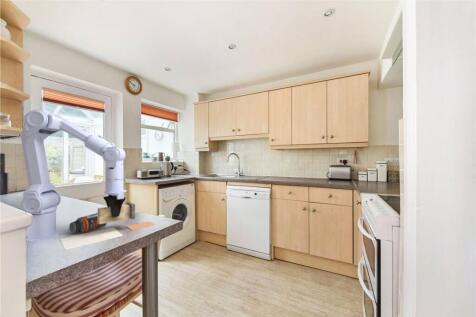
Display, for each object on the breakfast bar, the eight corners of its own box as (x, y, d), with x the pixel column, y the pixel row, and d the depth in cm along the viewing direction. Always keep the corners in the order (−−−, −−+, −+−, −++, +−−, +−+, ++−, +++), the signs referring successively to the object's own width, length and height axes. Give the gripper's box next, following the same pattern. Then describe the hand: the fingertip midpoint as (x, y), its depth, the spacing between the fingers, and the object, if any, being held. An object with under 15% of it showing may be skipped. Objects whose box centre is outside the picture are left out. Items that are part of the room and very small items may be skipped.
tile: (132, 230, 78) (155, 224, 85) (126, 226, 82) (149, 221, 89) (132, 233, 78) (155, 227, 85) (126, 229, 82) (149, 223, 89)
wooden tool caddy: (100, 225, 71) (100, 209, 71) (96, 221, 75) (96, 206, 75) (134, 218, 79) (135, 204, 79) (129, 215, 83) (129, 201, 83)
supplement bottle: (108, 227, 83) (77, 237, 72) (98, 224, 85) (67, 234, 75) (108, 212, 83) (77, 221, 72) (98, 210, 85) (67, 218, 75)
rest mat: (65, 251, 62) (65, 249, 62) (60, 240, 70) (60, 238, 70) (123, 236, 73) (123, 235, 73) (113, 228, 81) (113, 227, 81)
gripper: (133, 180, 74) (132, 217, 74) (120, 177, 84) (119, 210, 84) (110, 181, 69) (110, 221, 69) (99, 178, 79) (99, 213, 79)
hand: (114, 215), depth 76 cm, fingers closed on wooden tool caddy, 3 cm apart
